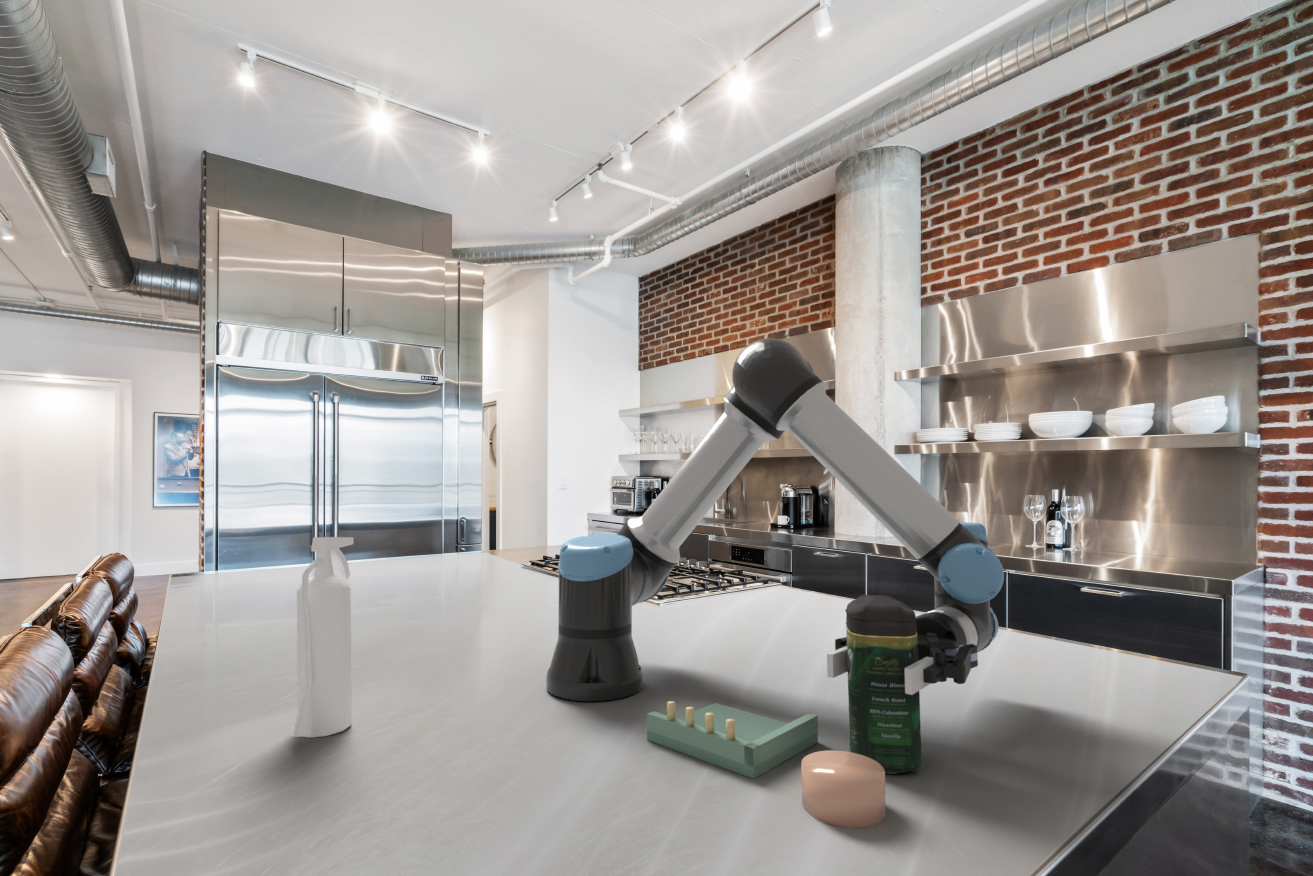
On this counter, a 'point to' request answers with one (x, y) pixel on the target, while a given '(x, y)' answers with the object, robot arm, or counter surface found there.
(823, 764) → the peach soap bar
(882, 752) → the coffee jar
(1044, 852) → the counter surface
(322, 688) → the white spray bottle
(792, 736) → the header tray
